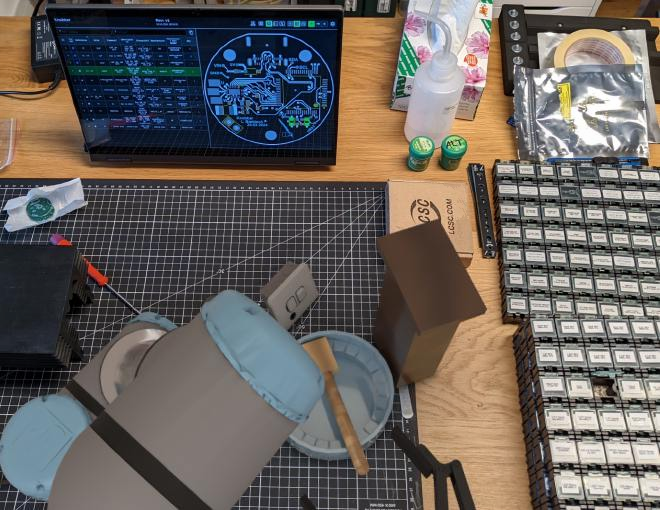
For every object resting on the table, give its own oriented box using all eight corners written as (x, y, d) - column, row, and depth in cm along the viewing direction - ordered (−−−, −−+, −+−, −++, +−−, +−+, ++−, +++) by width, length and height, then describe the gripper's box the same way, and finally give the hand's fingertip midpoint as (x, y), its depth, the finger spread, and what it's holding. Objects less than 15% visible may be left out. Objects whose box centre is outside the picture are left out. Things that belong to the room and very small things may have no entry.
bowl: (293, 479, 94) (291, 472, 89) (256, 365, 103) (253, 352, 98) (409, 435, 98) (413, 426, 93) (364, 329, 107) (366, 315, 101)
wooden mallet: (350, 482, 88) (350, 477, 86) (300, 351, 101) (299, 344, 99) (379, 471, 89) (379, 466, 87) (326, 342, 102) (325, 336, 100)
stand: (394, 402, 100) (420, 332, 74) (362, 327, 107) (376, 237, 81) (444, 384, 102) (487, 309, 76) (410, 311, 108) (438, 218, 82)
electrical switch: (285, 334, 106) (278, 308, 98) (262, 317, 108) (254, 291, 100) (319, 295, 110) (315, 268, 102) (297, 280, 112) (291, 252, 104)
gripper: (382, 724, 61) (264, 540, 72) (551, 558, 70) (424, 417, 81) (388, 720, 55) (258, 521, 66) (571, 540, 64) (431, 391, 75)
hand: (349, 463), depth 73 cm, fingers open, 13 cm apart
